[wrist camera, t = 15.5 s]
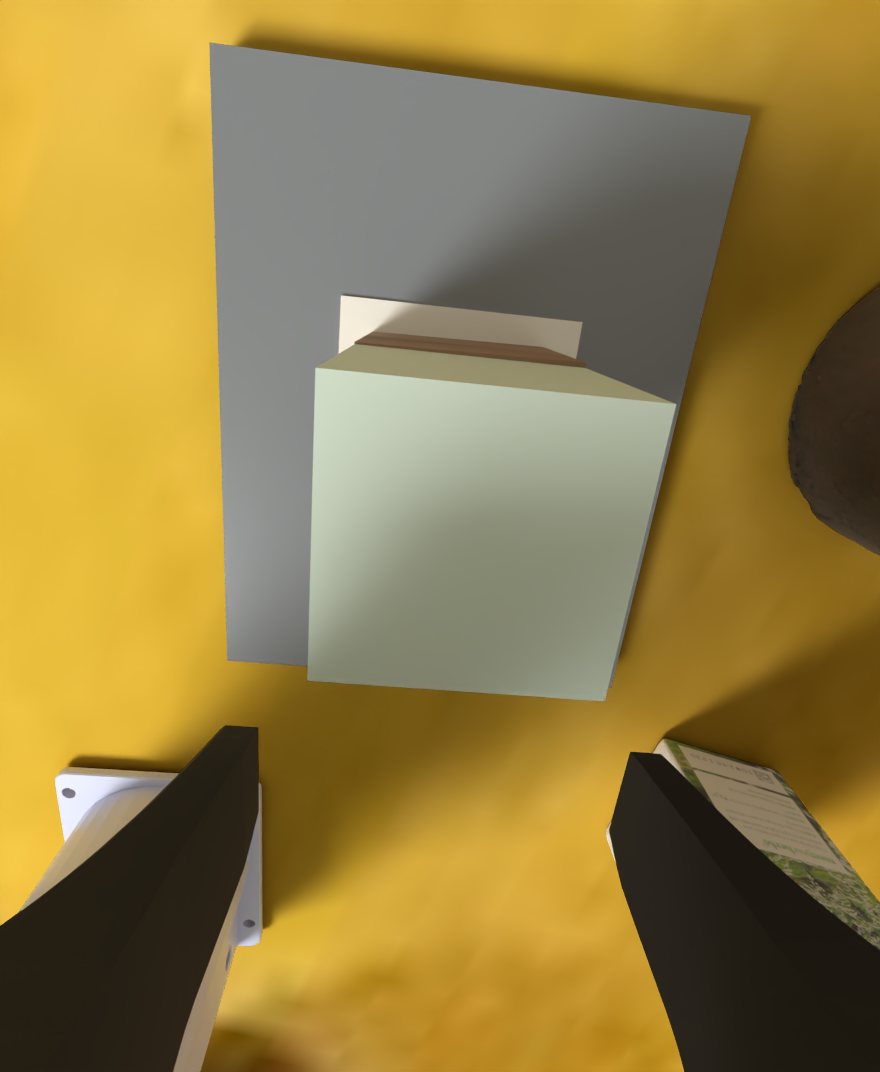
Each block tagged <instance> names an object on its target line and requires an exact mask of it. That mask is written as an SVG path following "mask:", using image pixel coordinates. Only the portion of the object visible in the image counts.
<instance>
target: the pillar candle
mask: <svg viewBox="0 0 880 1072" xmlns="http://www.w3.org/2000/svg"><path fill="white" fill-rule="evenodd" d="M788 440H789V451H788V455H789V464H790V470H791V477H792V479H793V481H794V484H795V485H796V486H797V487H799V489H800V491H801V493H802V494H803V496H804V498H806V499H807V501H808V502H809V504H810V506H811V510H812V512H813V513H814V514H815V516H816V517H817V518H818V519H819V520H821V521H822V522H823V523H825V524H826V525H828V526H829V527H830V528H832V529H833V530H835V531H836V532H838V533H840V534H841V535H843V536H845V537H847V538H848V539H851V540H853V541H855V542H856V543H858V544H860V545H862V546H863V547H865V548H866V549H868V550H870V551H872V552H874V553H876V554H878V555H880V286H879V287H878V288H876V289H875V290H874V291H872V292H871V293H869V294H868V295H867V296H865V297H864V298H863V299H862V300H861V301H860V302H858V303H857V304H856V305H854V306H853V307H852V308H851V310H850V311H849V312H848V313H846V314H845V315H844V316H843V317H842V318H841V319H840V320H839V321H838V322H837V323H836V324H835V325H834V326H833V328H832V329H831V330H830V332H829V333H828V334H827V338H826V339H825V340H824V341H823V342H822V343H821V344H820V345H819V347H818V348H817V350H816V352H815V354H814V355H813V357H812V359H811V361H810V363H809V365H808V367H807V369H806V370H805V371H804V374H803V375H802V384H801V385H799V386H798V391H797V393H796V395H795V399H794V403H793V407H792V413H791V416H790V421H789V438H788Z"/></svg>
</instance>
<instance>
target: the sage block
mask: <svg viewBox="0 0 880 1072" xmlns="http://www.w3.org/2000/svg"><path fill="white" fill-rule="evenodd" d="M675 408H676V404H675V403H672V402H670V401H667V400H665V399H662V398H660V397H657V396H655V395H652V394H649V393H647V392H644V391H642V390H639V389H637V388H634V387H632V386H629V385H627V384H624V383H622V382H619V381H617V380H614V379H612V378H609V377H607V376H604V375H602V374H599V373H597V372H594V371H592V370H589V369H587V368H581V367H571V366H561V365H552V364H542V363H532V362H523V361H513V360H504V359H494V358H484V357H475V356H465V355H455V354H446V353H436V352H427V351H417V350H407V349H398V348H388V347H378V346H369V345H359V344H354V345H352V346H351V347H349V348H347V349H346V350H344V351H342V352H341V353H339V354H337V355H336V356H334V357H332V358H331V359H329V360H327V361H326V362H324V363H322V364H321V365H319V366H317V367H316V368H315V401H314V440H313V479H312V518H311V557H310V596H309V635H308V675H307V681H317V682H332V683H346V684H361V685H375V686H390V687H404V688H419V689H433V690H448V691H462V692H477V693H491V694H506V695H520V696H535V697H549V698H564V699H578V700H593V701H605V698H606V694H607V690H608V686H609V682H610V678H611V673H612V669H613V665H614V661H615V657H616V653H617V649H618V644H619V640H620V636H621V632H622V628H623V624H624V620H625V615H626V611H627V607H628V603H629V599H630V595H631V591H632V586H633V582H634V578H635V574H636V570H637V566H638V561H639V557H640V553H641V549H642V545H643V541H644V537H645V532H646V528H647V524H648V520H649V516H650V512H651V508H652V503H653V499H654V495H655V491H656V487H657V483H658V478H659V474H660V470H661V466H662V462H663V458H664V454H665V449H666V445H667V441H668V437H669V433H670V429H671V425H672V420H673V416H674V412H675Z"/></svg>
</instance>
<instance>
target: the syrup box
mask: <svg viewBox="0 0 880 1072" xmlns="http://www.w3.org/2000/svg"><path fill="white" fill-rule="evenodd" d="M653 753H655V754H661V755H662V756H663V757H665V758H666V759H667V760H668V761H669V762H670V763H671V764H672V765H673V766H674V767H675V768H676V769H677V770H678V771H679V772H680V773H681V774H682V775H683V776H684V777H685V778H686V779H687V780H688V781H689V782H690V783H691V784H692V785H693V786H694V787H695V788H696V789H697V790H698V791H699V792H700V793H701V794H702V795H703V796H704V797H705V798H706V799H707V800H708V801H709V802H710V803H711V804H712V805H713V806H714V807H715V808H716V809H717V810H718V811H719V812H720V813H721V814H722V815H723V816H724V817H725V818H726V819H727V820H728V821H729V822H731V823H732V824H733V825H734V826H735V827H736V828H737V829H738V830H739V831H740V832H741V833H742V834H743V835H744V836H745V837H746V838H747V839H748V840H749V841H750V842H751V843H752V844H754V845H755V846H756V847H757V848H758V849H759V850H760V851H761V852H762V853H763V854H764V855H765V856H767V857H768V858H769V859H770V860H771V861H772V862H773V863H774V864H775V865H776V866H778V867H779V868H780V869H781V870H782V871H783V872H784V873H786V874H787V875H788V876H789V877H790V878H791V879H792V880H793V881H795V882H796V883H797V884H798V885H799V886H800V887H801V888H803V889H804V890H805V891H806V892H807V893H808V894H810V895H811V896H812V897H813V898H814V899H816V900H817V901H818V902H819V903H820V904H822V905H823V906H824V907H825V908H826V909H828V910H829V911H830V912H831V913H833V914H834V915H835V916H836V917H838V918H839V919H840V920H842V921H843V922H844V923H845V924H847V925H848V926H849V927H850V928H852V929H853V930H854V931H856V932H857V933H858V934H859V935H861V936H862V937H863V938H864V939H866V940H867V941H868V942H870V943H871V944H872V945H874V946H875V947H876V948H878V949H879V950H880V902H879V901H878V900H877V899H876V897H875V896H874V895H873V894H872V892H871V891H870V890H869V888H868V887H867V886H866V885H865V883H864V882H863V881H862V879H861V878H860V877H859V875H858V874H857V873H856V871H855V870H854V869H853V868H852V866H851V865H850V864H849V862H848V861H847V860H846V858H845V857H844V856H843V855H842V853H841V852H840V851H839V850H838V848H837V847H836V846H835V844H834V843H833V842H832V841H831V839H830V838H829V837H828V835H827V834H826V832H825V831H824V830H823V829H822V828H821V826H820V825H819V824H818V822H817V821H816V820H815V819H814V818H813V816H812V815H811V814H810V813H809V811H808V810H807V809H806V807H805V806H804V805H803V803H802V802H801V801H800V799H799V798H798V797H797V795H796V794H795V793H794V792H793V790H792V789H791V788H790V786H789V785H788V784H787V783H786V782H785V780H784V779H783V777H782V776H781V775H780V774H779V772H778V771H775V770H772V769H769V768H766V767H762V766H759V765H755V764H751V763H747V762H745V761H741V760H737V759H734V758H731V757H727V756H724V755H720V754H717V753H713V752H710V751H706V750H703V749H700V748H696V747H693V746H690V745H686V744H683V743H680V742H676V741H673V740H668V739H662V740H661V741H660V743H659V744H658V745H657V747H656V749H655V750H654V752H653ZM610 825H611V823H610ZM610 825H609V826H608V828H607V829H606V837H607V840H608V843H609V845H610V848H611V851H612V854H613V856H614V852H613V847H612V843H611V838H610V834H609V828H610ZM614 859H615V857H614ZM615 862H616V861H615Z"/></svg>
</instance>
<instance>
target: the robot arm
mask: <svg viewBox="0 0 880 1072" xmlns="http://www.w3.org/2000/svg"><path fill="white" fill-rule="evenodd" d="M55 786H56V792H57V798H58V804H59V810H60V816H61V822H62V829H63V835H64V841H65V843H64V845H63V847H62V848H61V850H60V851H59V853H58V854H57V856H56V857H55V859H54V860H53V862H52V863H51V865H50V866H49V868H48V869H47V871H46V872H45V874H44V875H43V877H42V878H41V880H40V881H39V883H38V884H37V886H36V887H35V889H34V890H33V892H32V893H31V895H30V896H29V898H28V899H27V901H26V902H25V904H24V905H23V907H22V908H21V910H20V911H19V913H17V914H16V915H15V916H13V917H12V918H10V919H9V920H8V921H6V922H5V923H4V924H2V925H1V926H0V1072H200V1071H201V1067H202V1064H203V1060H204V1057H205V1053H206V1050H207V1046H208V1043H209V1040H210V1036H211V1033H212V1029H213V1026H214V1022H215V1019H216V1015H217V1012H218V1008H219V1005H220V1002H221V998H222V995H223V991H224V988H225V984H226V981H227V977H228V974H229V970H230V967H231V964H232V960H233V957H234V953H235V950H236V946H237V945H244V946H252V945H256V944H258V943H259V942H260V940H261V936H262V932H263V924H262V787H261V784H260V783H259V764H258V728H257V727H242V726H227V725H226V726H224V727H223V728H222V729H220V730H219V731H218V732H217V733H216V734H215V736H214V737H213V738H212V739H211V740H210V741H209V742H208V743H207V744H206V745H205V746H204V748H203V749H202V750H201V751H200V752H199V753H198V754H197V755H196V756H195V757H194V758H193V759H192V760H191V761H190V763H189V764H188V765H187V766H186V767H185V768H184V769H183V770H182V771H181V772H180V773H163V772H147V771H130V770H113V769H97V768H80V767H65V768H63V769H62V770H61V771H60V772H59V774H58V775H57V776H56V777H55ZM71 789H73V790H71ZM609 834H610V838H611V843H612V847H613V852H614V857H615V861H616V865H617V869H618V873H619V878H620V882H621V886H622V889H623V891H624V894H625V897H626V900H627V903H628V906H629V909H630V912H631V914H632V917H633V920H634V923H635V926H636V929H637V931H638V934H639V937H640V940H641V943H642V945H643V948H644V951H645V954H646V956H647V959H648V962H649V965H650V968H651V970H652V973H653V976H654V979H655V981H656V984H657V987H658V990H659V993H660V995H661V998H662V1001H663V1004H664V1006H665V1009H666V1012H667V1015H668V1018H669V1021H670V1024H671V1027H672V1030H673V1033H674V1036H675V1040H676V1043H677V1046H678V1049H679V1053H680V1057H681V1060H682V1064H683V1068H684V1072H880V950H879V949H878V948H876V947H875V946H874V945H872V944H871V943H870V942H868V941H867V940H866V939H864V938H863V937H862V936H861V935H859V934H858V933H857V932H856V931H854V930H853V929H852V928H850V927H849V926H848V925H847V924H845V923H844V922H843V921H842V920H840V919H839V918H838V917H836V916H835V915H834V914H833V913H831V912H830V911H829V910H828V909H826V908H825V907H824V906H823V905H822V904H820V903H819V902H818V901H817V900H816V899H814V898H813V897H812V896H811V895H810V894H808V893H807V892H806V891H805V890H804V889H803V888H801V887H800V886H799V885H798V884H797V883H796V882H795V881H793V880H792V879H791V878H790V877H789V876H788V875H787V874H786V873H784V872H783V871H782V870H781V869H780V868H779V867H778V866H776V865H775V864H774V863H773V862H772V861H771V860H770V859H769V858H768V857H767V856H765V855H764V854H763V853H762V852H761V851H760V850H759V849H758V848H757V847H756V846H755V845H754V844H752V843H751V842H750V841H749V840H748V839H747V838H746V837H745V836H744V835H743V834H742V833H741V832H740V831H739V830H738V829H737V828H736V827H735V826H734V825H733V824H732V823H731V822H729V821H728V820H727V819H726V818H725V817H724V816H723V815H722V814H721V813H720V812H719V811H718V810H717V809H716V808H715V807H714V806H713V805H712V804H711V803H710V802H709V801H708V800H707V799H706V798H705V797H704V796H703V795H702V794H701V793H700V792H699V791H698V790H697V789H696V788H695V787H694V786H693V785H692V784H691V783H690V782H689V781H688V780H687V779H686V778H685V777H684V776H683V775H682V774H681V773H680V772H679V771H678V770H677V769H676V768H675V767H674V766H673V765H672V764H671V763H670V762H669V761H668V760H667V759H666V758H665V757H663V756H662V755H661V754H655V753H640V752H630V755H629V758H628V762H627V766H626V770H625V773H624V777H623V781H622V784H621V788H620V792H619V795H618V799H617V803H616V806H615V810H614V814H613V817H612V821H611V825H610V828H609Z"/></svg>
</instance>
